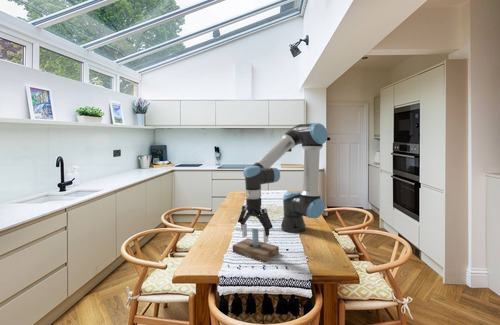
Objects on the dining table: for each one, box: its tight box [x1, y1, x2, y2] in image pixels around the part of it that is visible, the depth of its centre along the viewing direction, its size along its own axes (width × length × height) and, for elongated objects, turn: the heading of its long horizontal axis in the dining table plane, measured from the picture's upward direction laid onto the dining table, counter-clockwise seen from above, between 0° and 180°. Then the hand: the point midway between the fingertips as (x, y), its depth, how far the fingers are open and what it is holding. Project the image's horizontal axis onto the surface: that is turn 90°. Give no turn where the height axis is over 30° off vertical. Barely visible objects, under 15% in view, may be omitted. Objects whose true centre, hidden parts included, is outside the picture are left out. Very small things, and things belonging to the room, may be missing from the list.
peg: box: [251, 228, 260, 248], centre depth 139 cm, size 3×3×12 cm
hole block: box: [232, 237, 280, 263], centre depth 139 cm, size 12×20×4 cm, turn 50°
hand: (255, 239), depth 139 cm, fingers open, 13 cm apart
